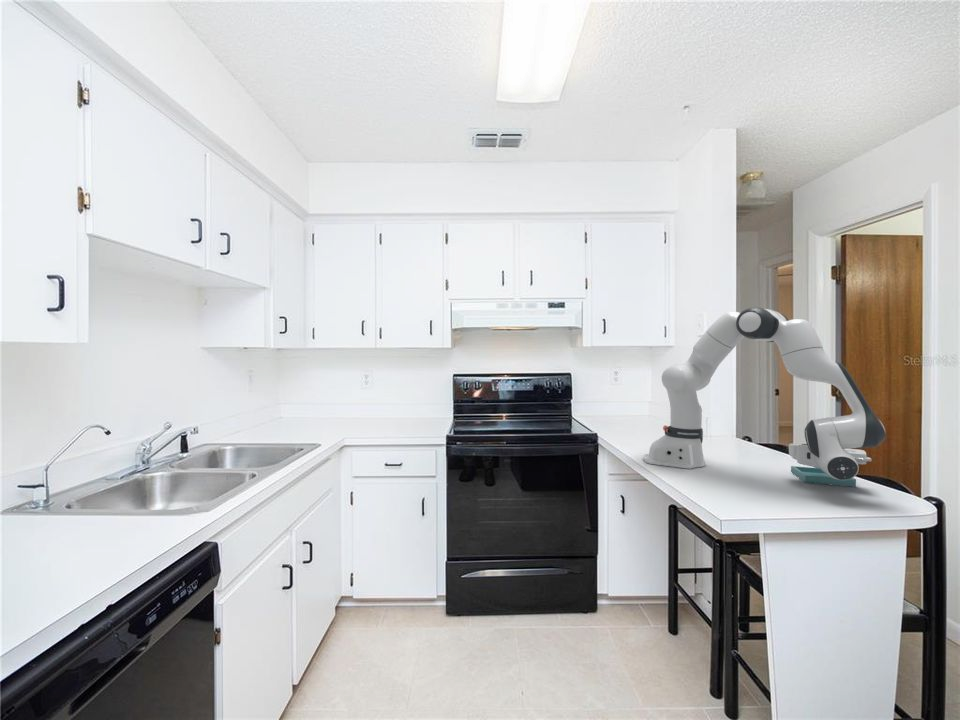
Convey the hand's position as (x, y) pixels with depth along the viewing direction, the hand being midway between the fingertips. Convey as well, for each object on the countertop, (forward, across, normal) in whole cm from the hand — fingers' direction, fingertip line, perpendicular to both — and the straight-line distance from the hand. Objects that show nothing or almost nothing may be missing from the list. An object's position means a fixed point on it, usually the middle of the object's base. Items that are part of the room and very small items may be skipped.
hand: (822, 449), depth 150 cm
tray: (-1, 0, +10) cm, 10 cm away
